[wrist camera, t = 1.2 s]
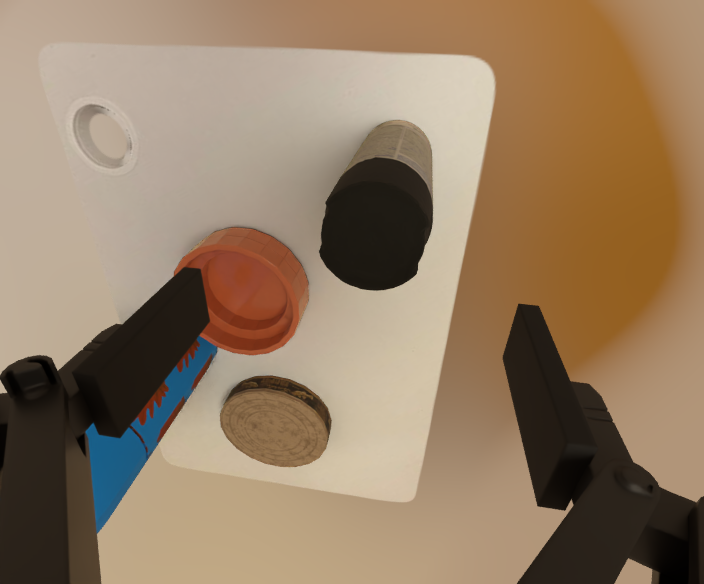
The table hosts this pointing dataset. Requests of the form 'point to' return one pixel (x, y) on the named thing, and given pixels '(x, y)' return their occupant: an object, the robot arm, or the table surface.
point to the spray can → (381, 209)
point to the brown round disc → (276, 421)
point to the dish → (249, 290)
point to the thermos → (142, 432)
